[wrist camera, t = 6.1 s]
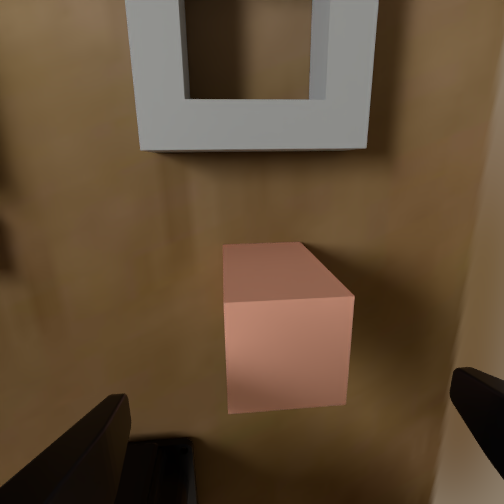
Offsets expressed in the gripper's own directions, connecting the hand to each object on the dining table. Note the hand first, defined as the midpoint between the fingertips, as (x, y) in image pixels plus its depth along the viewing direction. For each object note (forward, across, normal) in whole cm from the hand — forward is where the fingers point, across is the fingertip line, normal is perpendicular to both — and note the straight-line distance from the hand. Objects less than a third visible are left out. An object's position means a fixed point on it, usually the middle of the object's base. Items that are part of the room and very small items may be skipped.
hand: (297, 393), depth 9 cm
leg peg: (+9, 0, 0) cm, 9 cm away
